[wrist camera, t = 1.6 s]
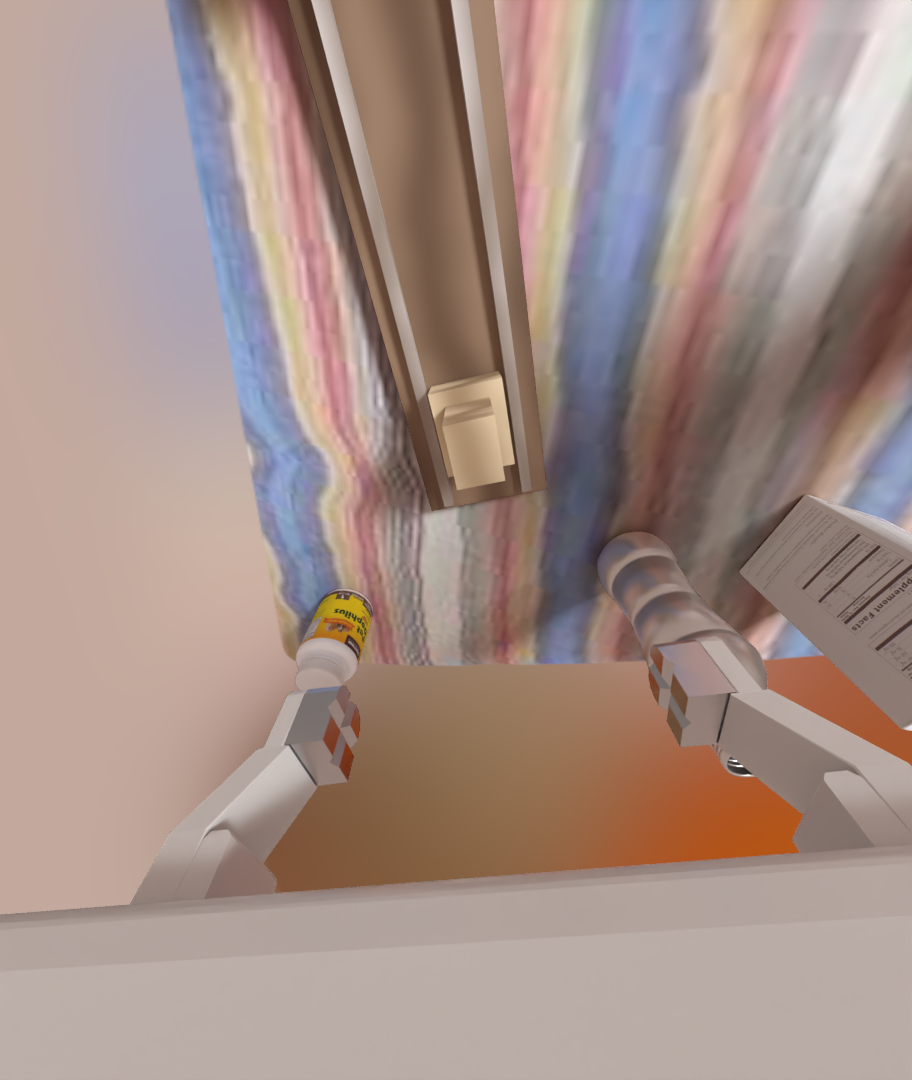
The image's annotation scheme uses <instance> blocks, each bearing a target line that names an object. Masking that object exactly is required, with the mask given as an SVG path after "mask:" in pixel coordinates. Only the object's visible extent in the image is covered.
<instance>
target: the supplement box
mask: <svg viewBox="0 0 912 1080" xmlns="http://www.w3.org/2000/svg"><path fill="white" fill-rule="evenodd" d="M739 573H740V574H741V575H742V576H743V577H744V578H745V579H746V580H747V581H748V582H749V583H750V584H751V585H752V586H753V587H754V588H755V589H756V590H757V591H758V592H759V593H760V594H761V595H763V596H764V597H765V598H766V599H767V600H768V601H769V602H770V603H771V604H772V605H773V606H774V607H775V608H776V609H777V610H778V611H779V612H780V613H781V614H782V615H783V616H784V617H786V618H787V619H788V620H789V621H790V622H791V623H792V624H793V625H794V626H795V627H796V628H797V629H798V630H799V631H800V632H801V633H802V634H803V635H804V636H805V637H806V638H807V639H808V640H809V641H811V642H812V643H813V644H814V645H815V646H816V647H817V648H818V649H819V650H820V651H821V652H822V653H823V654H824V655H825V656H826V657H827V658H828V659H829V660H831V662H832V663H834V665H836V666H837V667H838V668H839V669H840V670H841V671H842V672H843V673H844V674H845V675H846V676H847V677H848V678H849V679H850V680H851V681H852V682H853V683H854V684H855V685H856V686H857V687H858V688H860V689H861V691H863V692H864V693H865V694H866V695H867V696H868V697H869V698H870V699H871V700H872V701H873V702H874V703H875V704H876V705H877V706H878V707H879V708H880V709H881V710H882V711H883V712H884V713H885V714H886V715H887V716H888V717H889V718H890V719H892V720H893V721H894V722H895V723H896V724H897V725H898V726H899V727H900V728H902V729H905V730H909V731H912V534H911V533H909V532H907V531H905V530H903V529H901V528H899V527H898V526H896V525H894V524H892V523H890V522H888V521H886V520H884V519H881V518H878V517H876V516H873V515H869V514H866V513H863V512H860V511H857V510H854V509H850V508H847V507H844V506H841V505H838V504H835V503H832V502H829V501H826V500H823V499H820V498H817V497H814V496H811V495H804V496H803V498H802V499H801V500H800V501H799V502H798V503H797V505H796V506H795V507H794V508H793V509H792V510H791V512H790V513H789V514H788V515H787V516H786V517H785V519H784V520H783V521H782V522H781V523H780V524H779V526H778V527H777V528H776V529H775V530H774V531H773V533H772V534H771V535H770V536H769V537H768V538H767V540H766V541H765V542H764V543H763V544H762V545H761V546H760V548H759V549H758V550H757V551H756V552H755V553H754V555H753V556H752V557H751V558H750V559H749V560H748V562H747V563H746V564H745V565H744V566H743V567H742V568H741V570H740V571H739Z"/></svg>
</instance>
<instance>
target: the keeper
mask: <svg viewBox="0 0 912 1080" xmlns="http://www.w3.org/2000/svg"><path fill="white" fill-rule="evenodd" d="M428 398H429V402H430V406H431V410H432V414H433V418H434V422H435V426H436V430H437V434H438V439H439V443H440V447H441V451H442V455H443V459H444V463H445V467H446V471H447V475H448V477H452V476H454V479H455V483H456V487H457V490H461V489H466V488H471V487H476V486H481V485H486V484H491V483H496V482H501V481H505V475H504V469H503V466H507V465H512V464H515V462H514V455H513V448H512V441H511V435H510V428H509V421H508V415H507V408H506V401H505V395H504V388H503V381H502V377H501V375H500V373H499V371H496V372H492V373H488V374H483V375H479V376H475V377H471V378H466V379H462V380H458V381H453V382H449V383H445V384H441V385H436V386H432V387H431V388H430V390H429V393H428Z"/></svg>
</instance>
